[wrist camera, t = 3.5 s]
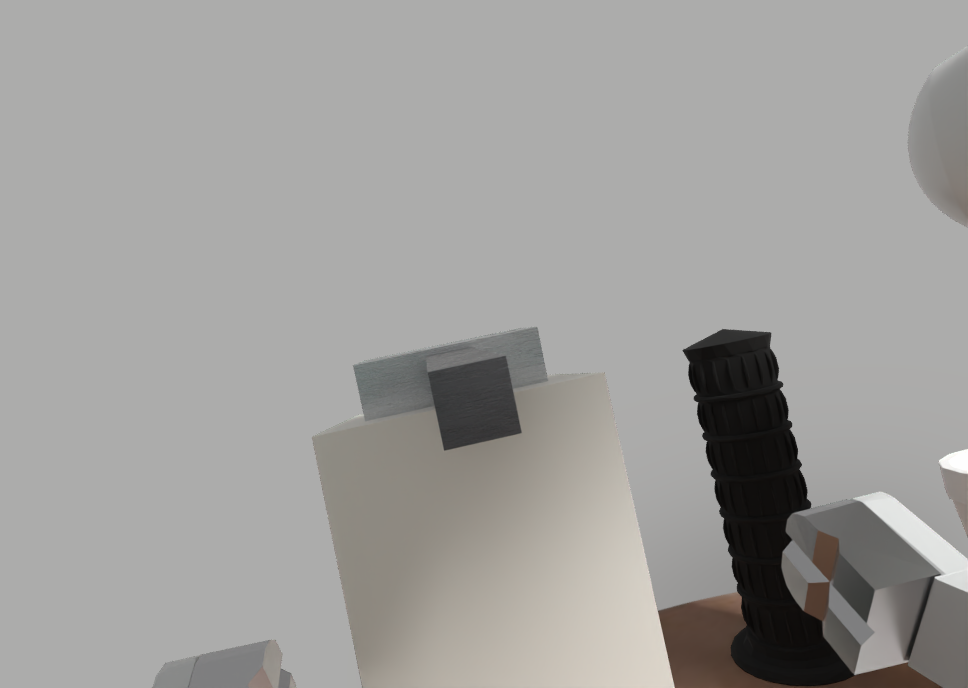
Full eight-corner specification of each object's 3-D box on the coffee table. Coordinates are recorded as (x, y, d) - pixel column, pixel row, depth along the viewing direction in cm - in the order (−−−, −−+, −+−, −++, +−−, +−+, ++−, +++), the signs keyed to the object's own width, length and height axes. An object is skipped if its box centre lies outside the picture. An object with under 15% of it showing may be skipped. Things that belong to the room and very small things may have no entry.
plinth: (619, 724, 43) (542, 375, 44) (727, 924, 28) (604, 372, 29) (430, 777, 42) (356, 415, 43) (429, 1019, 26) (312, 436, 27)
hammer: (528, 374, 38) (519, 328, 38) (642, 415, 18) (623, 320, 18) (374, 407, 37) (364, 360, 37) (319, 489, 17) (297, 389, 17)
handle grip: (897, 674, 42) (833, 613, 52) (811, 311, 43) (764, 319, 53) (753, 694, 44) (717, 630, 54) (673, 340, 45) (652, 343, 55)
